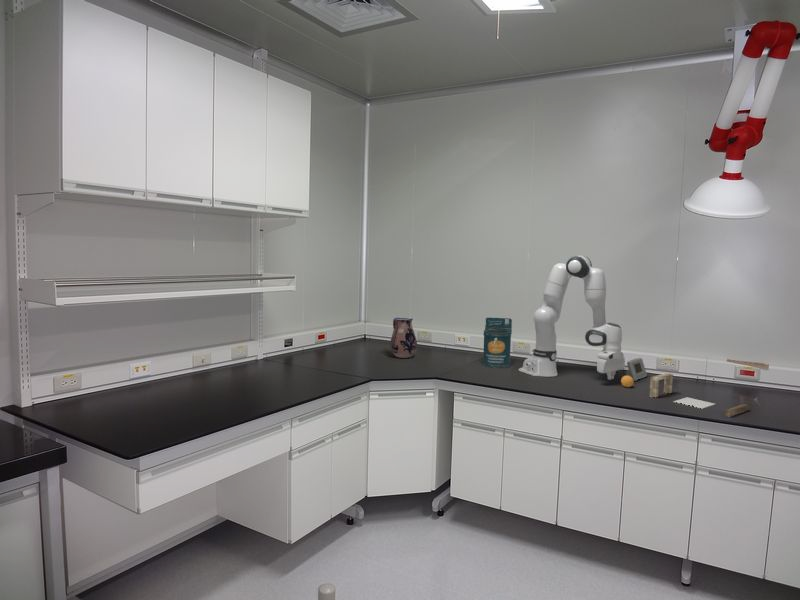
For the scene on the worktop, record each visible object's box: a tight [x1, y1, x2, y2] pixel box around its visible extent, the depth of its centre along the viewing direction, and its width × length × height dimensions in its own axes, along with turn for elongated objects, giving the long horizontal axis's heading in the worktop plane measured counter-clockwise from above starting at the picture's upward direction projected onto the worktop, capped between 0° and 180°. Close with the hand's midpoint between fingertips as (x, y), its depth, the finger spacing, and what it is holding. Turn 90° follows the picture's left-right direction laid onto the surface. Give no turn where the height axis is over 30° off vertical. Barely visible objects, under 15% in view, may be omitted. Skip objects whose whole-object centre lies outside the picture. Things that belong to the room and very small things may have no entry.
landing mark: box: [672, 396, 716, 410], centre depth 246 cm, size 13×13×1 cm
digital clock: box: [625, 357, 648, 382], centre depth 293 cm, size 16×9×11 cm, turn 122°
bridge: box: [649, 372, 674, 399], centre depth 259 cm, size 3×15×10 cm, turn 125°
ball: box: [620, 375, 635, 388], centre depth 274 cm, size 6×6×6 cm
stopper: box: [723, 403, 749, 418], centre depth 232 cm, size 2×18×2 cm, turn 125°
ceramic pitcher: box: [389, 317, 418, 359], centre depth 343 cm, size 18×21×25 cm
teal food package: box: [482, 317, 513, 369], centre depth 321 cm, size 16×16×28 cm
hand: (610, 379), depth 281 cm, fingers closed
